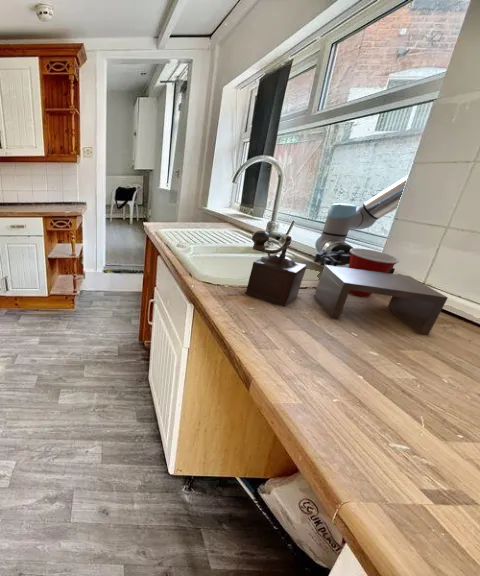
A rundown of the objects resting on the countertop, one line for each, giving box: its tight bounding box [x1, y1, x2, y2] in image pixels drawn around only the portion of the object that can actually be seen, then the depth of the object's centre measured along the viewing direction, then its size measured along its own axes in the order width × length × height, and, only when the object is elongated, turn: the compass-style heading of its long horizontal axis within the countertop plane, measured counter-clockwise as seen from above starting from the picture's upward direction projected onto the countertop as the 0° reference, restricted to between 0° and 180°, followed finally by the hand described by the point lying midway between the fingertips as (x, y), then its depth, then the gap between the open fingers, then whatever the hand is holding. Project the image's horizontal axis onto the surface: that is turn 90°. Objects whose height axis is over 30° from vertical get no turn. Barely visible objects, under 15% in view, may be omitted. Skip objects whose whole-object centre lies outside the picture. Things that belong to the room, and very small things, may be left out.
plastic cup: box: [348, 247, 400, 298], centre depth 86 cm, size 11×11×12 cm
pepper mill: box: [244, 230, 308, 307], centre depth 78 cm, size 16×11×18 cm
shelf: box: [314, 264, 449, 336], centre depth 74 cm, size 18×15×9 cm
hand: (362, 269), depth 88 cm, fingers open, 13 cm apart
